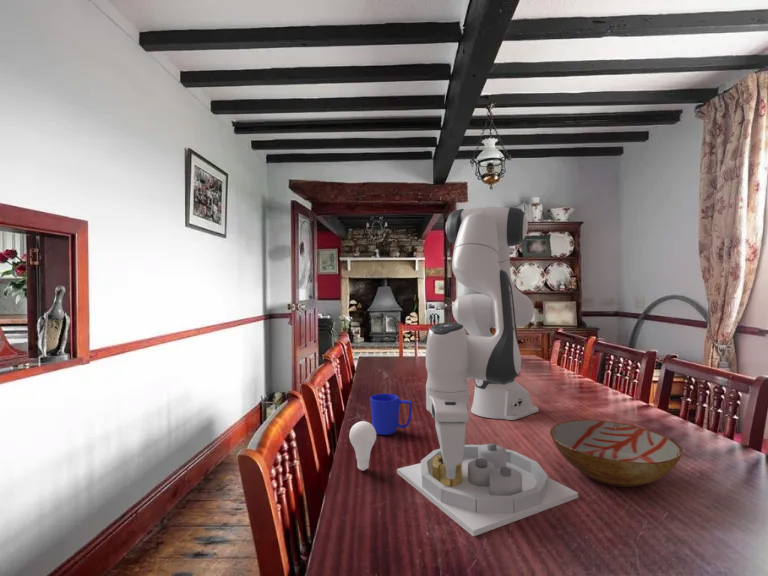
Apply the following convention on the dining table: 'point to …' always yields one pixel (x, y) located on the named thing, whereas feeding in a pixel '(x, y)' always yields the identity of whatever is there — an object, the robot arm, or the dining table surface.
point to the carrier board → (489, 488)
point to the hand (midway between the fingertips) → (447, 466)
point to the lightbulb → (362, 442)
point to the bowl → (615, 451)
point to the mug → (387, 413)
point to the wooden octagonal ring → (440, 472)
